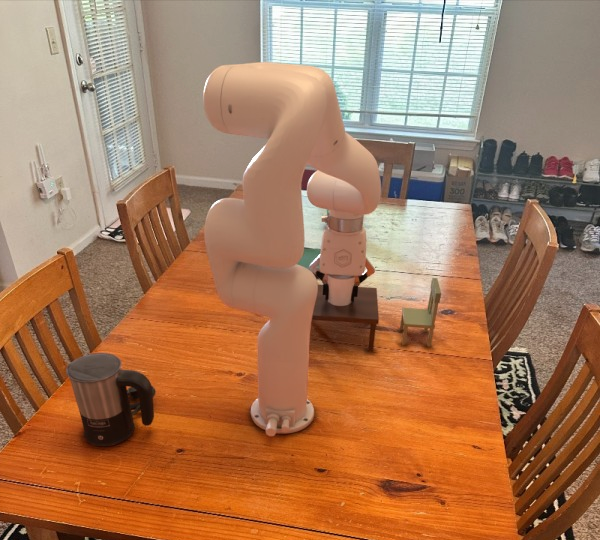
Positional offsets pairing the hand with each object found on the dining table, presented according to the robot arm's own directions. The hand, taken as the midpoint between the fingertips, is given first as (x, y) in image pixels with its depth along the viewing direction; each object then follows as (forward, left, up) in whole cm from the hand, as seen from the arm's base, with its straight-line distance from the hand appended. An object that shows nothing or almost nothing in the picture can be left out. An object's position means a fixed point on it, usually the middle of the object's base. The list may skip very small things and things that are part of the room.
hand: (339, 297), depth 133 cm
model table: (0, 0, -10) cm, 10 cm away
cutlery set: (+39, +17, -10) cm, 44 cm away
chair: (0, -19, -9) cm, 21 cm away
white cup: (0, 0, -1) cm, 1 cm away
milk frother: (-38, +41, -10) cm, 57 cm away
